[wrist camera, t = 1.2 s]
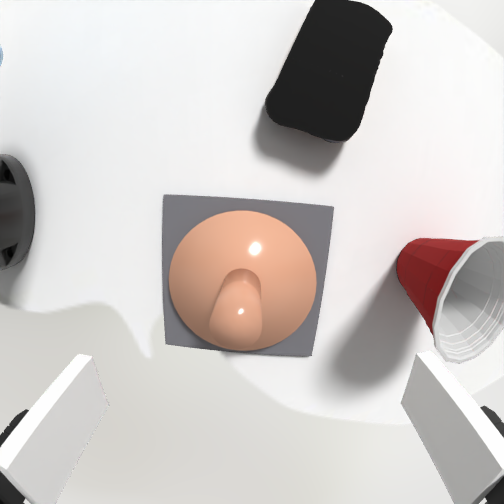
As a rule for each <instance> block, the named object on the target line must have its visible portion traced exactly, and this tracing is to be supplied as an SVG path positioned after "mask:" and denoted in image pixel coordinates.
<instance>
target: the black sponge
mask: <svg viewBox="0 0 504 504" xmlns="http://www.w3.org/2000/svg"><path fill="white" fill-rule="evenodd" d="M392 30H393V28H392V25H391V23H390V22H389V21H388V20H387V19H386V18H385V17H384V16H382V15H381V14H380V13H379V12H378V11H376V10H375V9H374V8H372V7H370V6H369V5H366V4H364V3H361V2H356V1H350V0H315V1H314V3H313V5H312V7H311V8H310V10H309V13H308V14H307V17H306V19H305V21H304V23H303V25H302V27H301V29H300V31H299V33H298V35H297V38H296V40H295V42H294V44H293V46H292V48H291V50H290V53H289V55H288V57H287V59H286V61H285V63H284V65H283V68H282V70H281V72H280V74H279V77H278V79H277V81H276V83H275V85H274V86H273V88H272V89H271V90H270V92H269V93H268V95H267V97H266V100H265V105H266V110H267V113H268V115H269V117H270V118H271V119H272V120H273V121H274V122H275V123H277V124H279V125H282V126H287V127H291V128H295V129H298V130H302V131H304V132H307V133H309V134H311V135H314V136H317V137H320V138H322V139H324V140H326V141H328V142H333V143H341V142H345V141H347V140H349V139H350V138H351V137H352V136H353V134H354V133H355V132H356V131H357V129H358V128H359V126H360V123H361V120H362V118H363V115H364V111H365V106H366V104H367V102H368V100H369V97H370V92H371V88H372V85H373V83H374V79H375V75H376V72H377V69H378V66H379V64H380V59H381V58H382V56H383V50H384V48H385V44H386V42H387V40H388V38H389V36H390V35H391V33H392Z"/></svg>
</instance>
